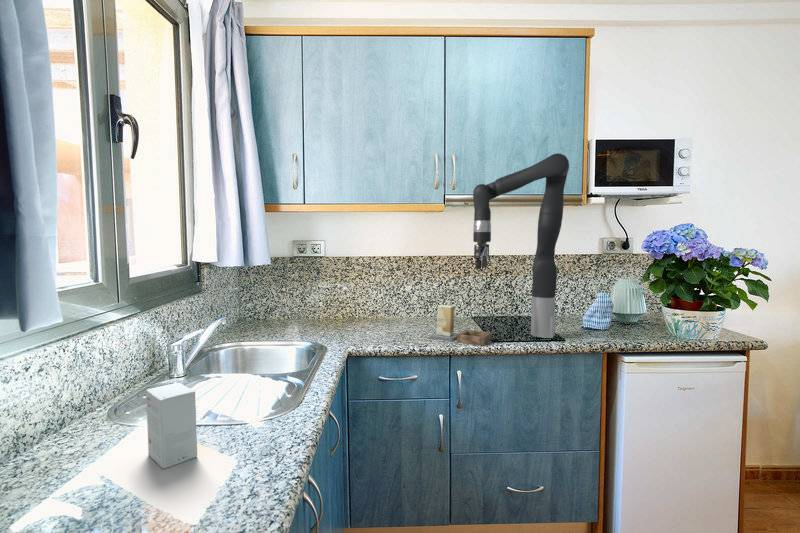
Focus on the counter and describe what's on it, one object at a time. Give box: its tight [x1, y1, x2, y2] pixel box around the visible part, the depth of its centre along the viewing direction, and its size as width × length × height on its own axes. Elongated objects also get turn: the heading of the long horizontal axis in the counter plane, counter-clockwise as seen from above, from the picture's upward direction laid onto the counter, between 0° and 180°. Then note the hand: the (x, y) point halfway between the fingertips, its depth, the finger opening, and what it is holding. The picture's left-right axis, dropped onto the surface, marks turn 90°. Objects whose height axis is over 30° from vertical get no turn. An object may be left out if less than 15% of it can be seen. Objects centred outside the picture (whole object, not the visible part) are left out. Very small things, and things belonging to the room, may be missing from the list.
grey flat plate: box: [428, 331, 460, 342], centre depth 182 cm, size 10×10×1 cm
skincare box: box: [436, 304, 456, 336], centre depth 181 cm, size 6×4×12 cm
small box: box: [145, 381, 198, 470], centre depth 84 cm, size 8×6×13 cm
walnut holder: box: [456, 329, 492, 347], centre depth 175 cm, size 11×11×3 cm
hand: (481, 268), depth 190 cm, fingers open, 8 cm apart
